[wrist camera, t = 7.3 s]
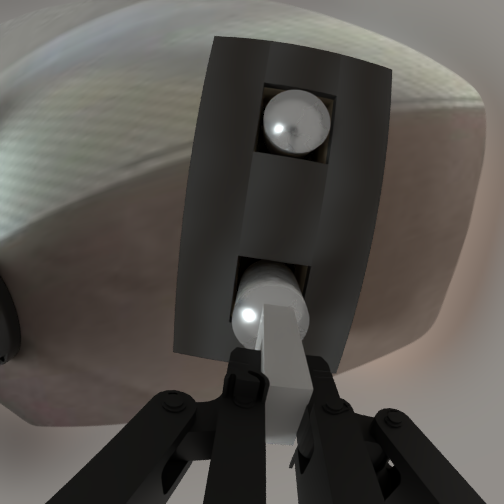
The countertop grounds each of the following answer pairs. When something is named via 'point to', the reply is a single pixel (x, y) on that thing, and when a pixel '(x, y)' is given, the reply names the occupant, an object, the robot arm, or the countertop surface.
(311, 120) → the steel peg
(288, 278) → the steel peg
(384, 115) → the block
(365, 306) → the countertop surface
